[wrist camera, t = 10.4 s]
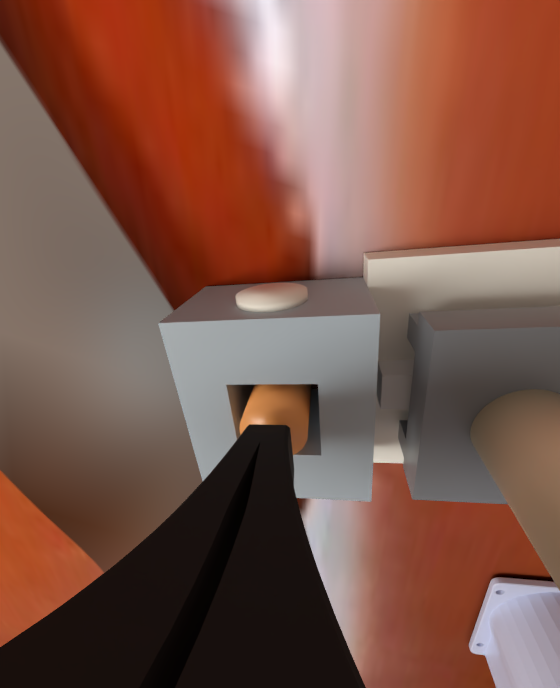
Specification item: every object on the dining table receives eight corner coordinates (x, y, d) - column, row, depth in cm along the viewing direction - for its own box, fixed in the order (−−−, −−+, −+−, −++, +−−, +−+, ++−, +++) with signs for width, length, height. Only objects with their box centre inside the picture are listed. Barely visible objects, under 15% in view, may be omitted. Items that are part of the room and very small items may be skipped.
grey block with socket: (359, 426, 16) (371, 501, 12) (233, 424, 17) (206, 492, 13) (363, 269, 13) (380, 304, 9) (204, 280, 14) (156, 314, 10)
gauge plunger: (313, 400, 14) (309, 459, 11) (261, 400, 14) (244, 457, 11) (310, 354, 13) (305, 404, 10) (255, 355, 13) (234, 404, 10)
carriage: (542, 449, 13) (741, 682, 7) (397, 445, 14) (454, 647, 8) (599, 291, 10) (1037, 446, 4) (410, 300, 11) (520, 436, 5)
